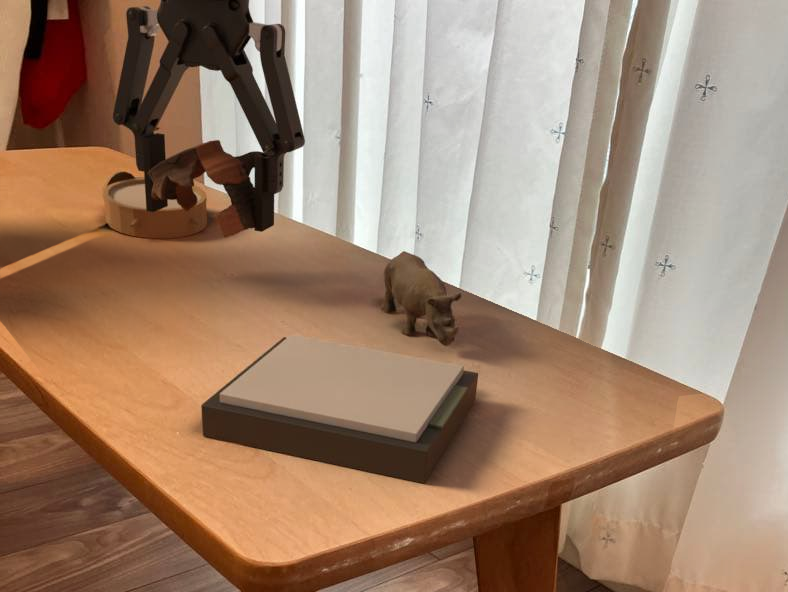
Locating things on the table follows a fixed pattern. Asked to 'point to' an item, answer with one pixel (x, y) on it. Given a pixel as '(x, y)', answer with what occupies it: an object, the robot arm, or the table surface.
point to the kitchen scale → (344, 406)
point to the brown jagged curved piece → (222, 169)
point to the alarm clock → (133, 219)
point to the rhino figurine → (419, 297)
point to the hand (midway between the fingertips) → (210, 218)
